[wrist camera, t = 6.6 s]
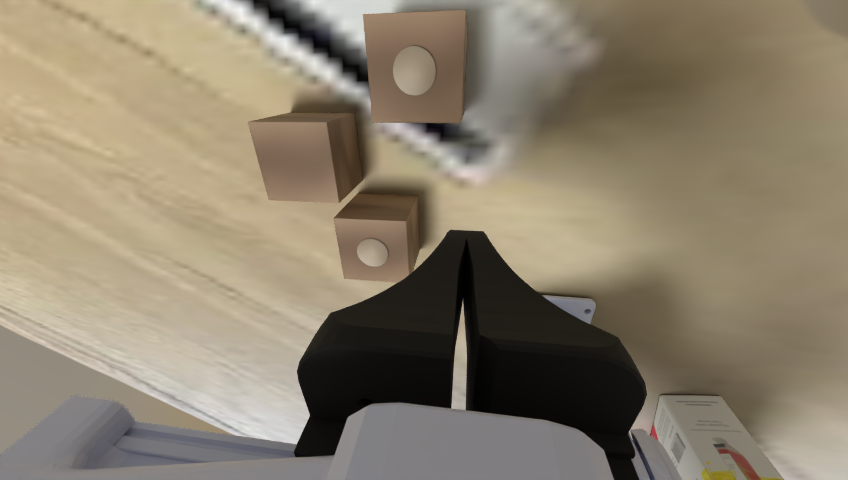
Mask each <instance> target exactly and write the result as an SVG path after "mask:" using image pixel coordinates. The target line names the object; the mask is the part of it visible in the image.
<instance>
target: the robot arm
mask: <svg viewBox="0 0 848 480" xmlns="http://www.w3.org/2000/svg"><path fill="white" fill-rule="evenodd" d="M462 301H463V303H464V317H465V330H466V343H467V383H466V410H458V409H451V402H452V385H453V368H454V354H455V345H456V339H457V333H458V327H459V320H460V314H461V308H462ZM595 308H596V304H595V302H594V300H592V299H588V298H575V297H562V296H549V295H540V294H539V293H538V292H536V291H535V290H534V289H533V288H531V287H530V286H529V285H528V284H527V283H525V282H524V281H523V280H522V279H521V278H520V277H519V276H518V275H517V274H516V273H515V272H514V271H513V270H512V269H511V268H510V267H509V266H508V265H507V263H506V262H505V261H504V260H503V259H502V257H501V256H500V255H499V253H498V252H497V251H496V249H495V248H494V247H493V245H492V244H491V242H490V240H489V239H488V237H487V235H486V234H485V233H484V232H483V231H463V230H450V231H449V232H447V234H446V236H445V237H444V239H443V240H442V242H441V243H440V244H439V245H438V247H437V248H436V249H435V250H434V251H433V253H432V254H431V255H430V256H429V257H428V258H427V259H426V260H425V261H424V262H423V263H422V264H421V265H420V266H419V267H418V268H417V269H416V270H414V271H413V272H412V273H411V274H410V275H408V276H407V277H406V278H404V279H403V280H401V281H400V282H398V283H397V284H395V285H393V286H392V287H390V288H388V289H387V290H385V291H383V292H381V293H379V294H377V295H375V296H373V297H371V298H369V299H367V300H365V301H362V302H360V303H357V304H355V305H352V306H349V307H346V308H344V309H341V310H338V311H335V312H332V313H330V314H329V316H328V317H327V319H326V320H325V321H324V323H323V324H322V325H321V327H320V328H319V330H318V331H317V333H316V334H315V336H314V338H313V339H312V341H311V343H310V345H309V346H308V348H307V350H306V351H305V353H304V355H303V357H302V358H301V360H300V362H299V366H298V370H297V374H298V380H299V384H300V387H301V390H302V393H303V396H304V399H305V401H306V404H307V407H308V410H309V413H310V417H309V419H308V422H307V424H306V426H305V428H304V430H303V432H302V435H301V437H300V439H299V441H298V443H297V444H290V443H283V442H277V441H270V440H263V439H256V438H249V437H242V436H235V435H228V434H221V433H214V432H207V431H200V430H193V429H186V428H179V427H172V426H166V425H158V424H151V423H144V422H138V421H135V418H134V416H133V415H132V413H131V412H130V411H129V409H128V408H126V407H125V406H124V405H123V404H121V403H119V402H117V401H114V400H110V399H105V398H97V397H90V396H82V395H73V396H70V397H69V398H68V399H67V400H66V401H64V402H63V403H62V404H61V405H59V406H58V407H57V408H56V409H55V410H53V411H52V412H51V413H50V414H49V415H47V416H46V417H45V418H44V419H43V420H41V421H40V422H39V423H38V424H37V425H35V426H34V427H33V428H32V429H30V431H28V432H27V433H26V434H24V435H23V436H22V437H21V438H20V439H18V440H17V441H16V442H15V443H14V444H12V445H11V446H10V447H9V448H7V449H6V450H5V451H4V452H3V453H1V454H0V480H682V478H681V476H680V474H679V473H678V471H677V469H676V467H675V465H674V463H673V461H672V460H671V458H670V456H669V455H668V453H667V451H666V450H665V448H664V447H663V445H662V444H661V443H660V442H659V441H658V440H656V439H655V438H653V437H652V436H650V435H648V434H647V433H646V431H644V430H643V429H634V430H631V435H632V438H631V437H630V434H629V430H630V429H631V427H632V425H633V423H634V421H635V420H636V418H637V416H638V414H639V413H640V411H641V409H642V407H643V405H644V402H645V399H646V396H647V392H646V386H645V382H644V380H643V378H642V376H641V375H640V373H639V371H638V369H637V367H636V365H635V363H634V362H633V360H632V358H631V356H630V355H629V353H628V352H627V350H626V349H625V347H624V346H623V344H622V343H621V341H620V340H619V338H618V337H616V336H614V335H612V334H610V333H607V332H605V331H603V330H601V329H599V328H597V327H595V326H593V325H591V324H590V323H591V320H592V317H593V314H594V311H595ZM586 309H589V310H587V311H585V310H586ZM632 439H633V440H632Z"/></svg>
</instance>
